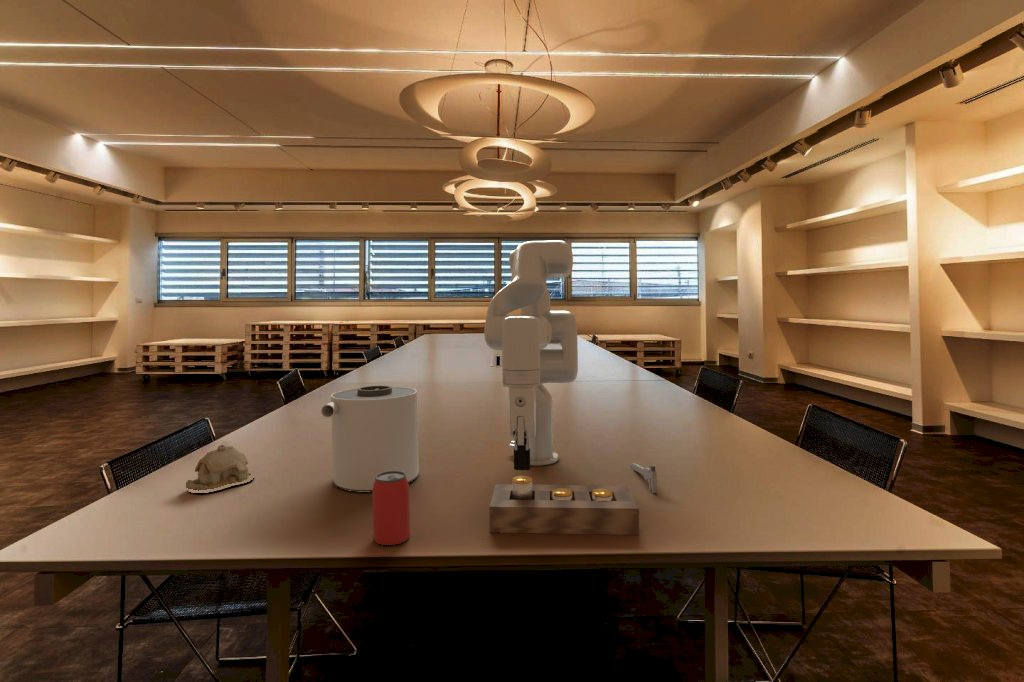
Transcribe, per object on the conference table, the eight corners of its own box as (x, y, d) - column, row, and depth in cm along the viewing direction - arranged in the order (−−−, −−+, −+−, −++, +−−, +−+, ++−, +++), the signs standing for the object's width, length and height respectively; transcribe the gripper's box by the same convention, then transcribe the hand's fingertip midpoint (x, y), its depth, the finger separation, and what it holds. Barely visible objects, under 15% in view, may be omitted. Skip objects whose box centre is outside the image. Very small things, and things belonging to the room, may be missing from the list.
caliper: (657, 495, 109) (657, 468, 108) (652, 495, 109) (652, 468, 108) (633, 466, 129) (634, 444, 129) (629, 466, 129) (629, 444, 129)
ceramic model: (233, 473, 127) (231, 437, 126) (263, 479, 122) (261, 440, 122) (178, 492, 114) (176, 451, 113) (209, 498, 109) (207, 456, 109)
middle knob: (552, 518, 93) (552, 495, 93) (552, 510, 97) (551, 488, 97) (572, 518, 93) (572, 495, 93) (571, 510, 97) (571, 488, 97)
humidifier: (410, 493, 111) (408, 394, 110) (319, 495, 110) (316, 396, 109) (424, 464, 132) (422, 381, 131) (348, 466, 132) (346, 382, 130)
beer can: (391, 551, 84) (389, 484, 83) (366, 541, 87) (364, 477, 86) (417, 536, 89) (416, 473, 88) (392, 528, 93) (391, 467, 92)
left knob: (512, 505, 94) (511, 482, 93) (513, 497, 98) (512, 475, 97) (532, 505, 93) (531, 482, 93) (532, 497, 97) (532, 475, 97)
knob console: (489, 532, 90) (489, 506, 90) (495, 507, 102) (495, 484, 102) (638, 534, 88) (638, 508, 88) (627, 508, 100) (627, 485, 100)
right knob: (593, 519, 93) (593, 496, 93) (591, 510, 97) (591, 488, 97) (613, 519, 93) (613, 496, 92) (610, 510, 97) (610, 488, 96)
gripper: (540, 383, 87) (540, 481, 87) (540, 373, 101) (540, 458, 102) (499, 383, 87) (500, 481, 88) (505, 373, 102) (506, 458, 103)
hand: (522, 468), depth 95 cm, fingers closed
